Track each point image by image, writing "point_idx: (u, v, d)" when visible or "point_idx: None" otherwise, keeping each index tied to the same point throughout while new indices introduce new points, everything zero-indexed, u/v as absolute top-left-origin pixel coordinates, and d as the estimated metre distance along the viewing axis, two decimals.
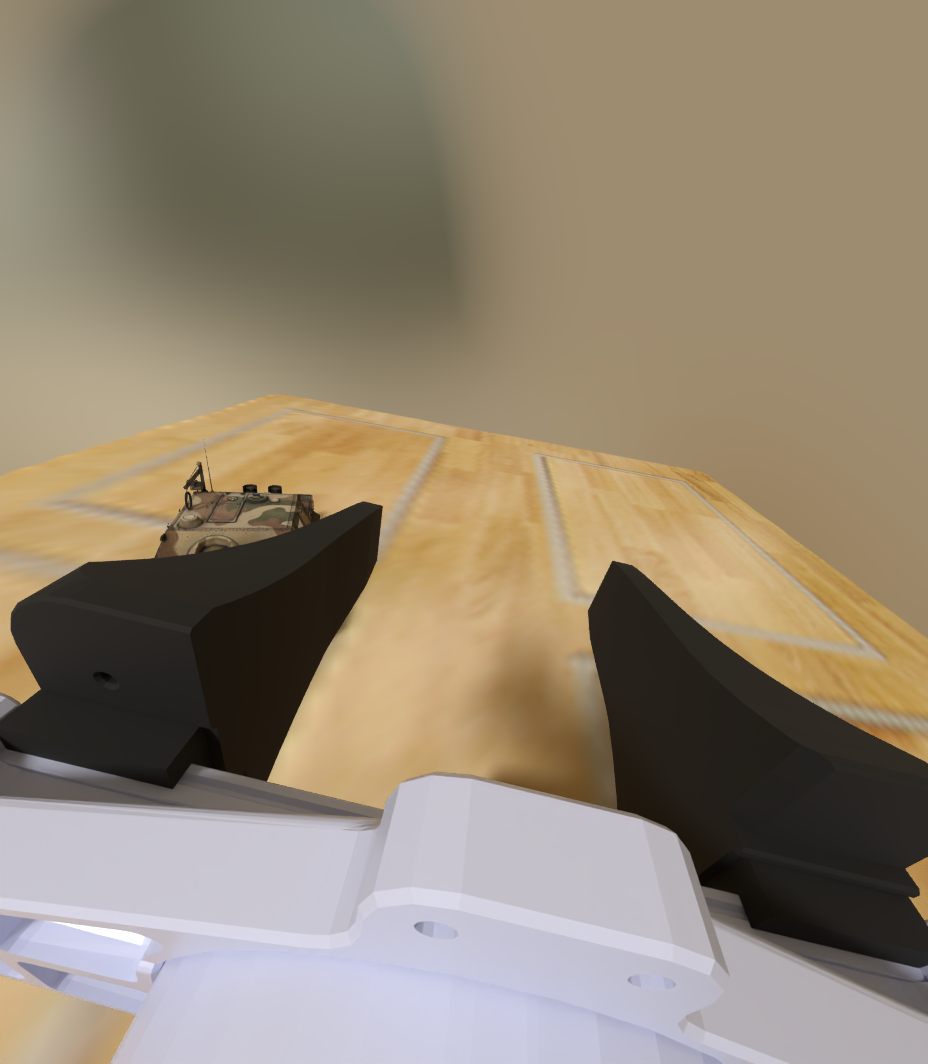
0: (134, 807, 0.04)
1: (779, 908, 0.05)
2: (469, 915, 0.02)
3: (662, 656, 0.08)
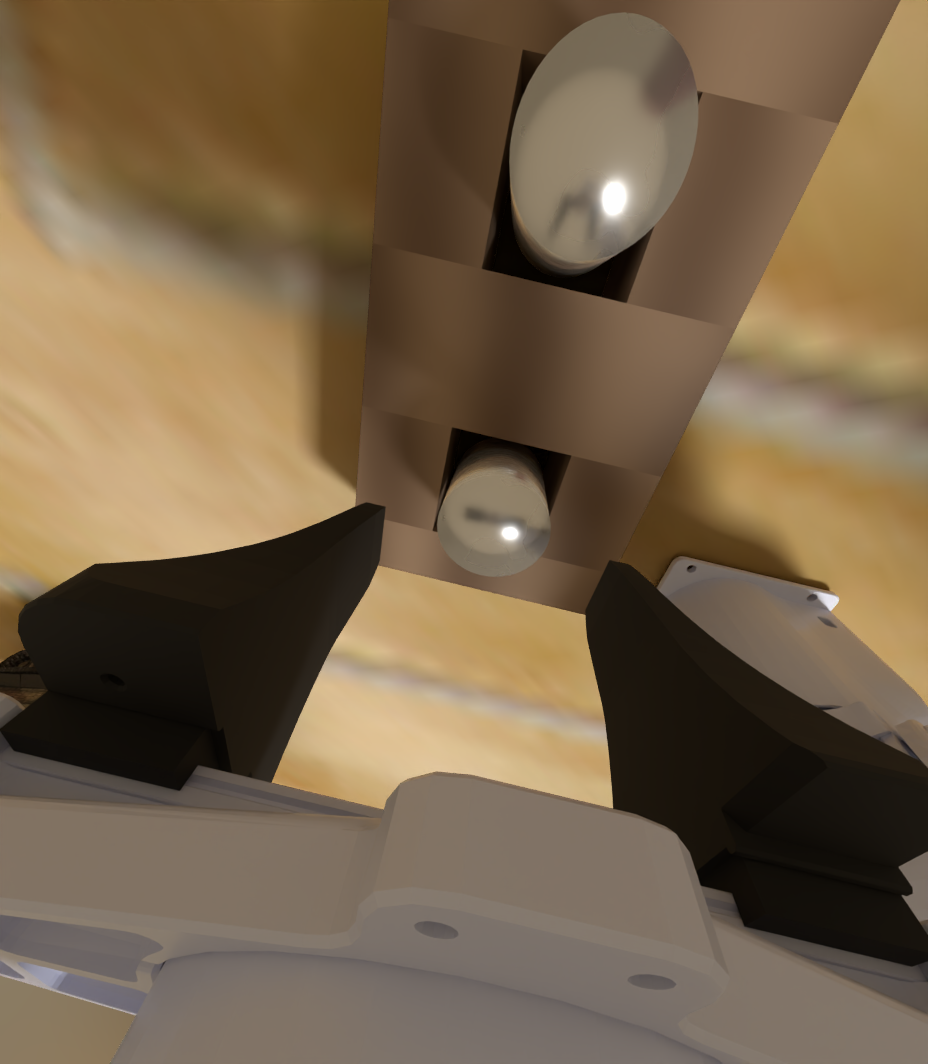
0: (134, 807, 0.04)
1: (773, 907, 0.05)
2: (469, 915, 0.02)
3: (658, 655, 0.08)
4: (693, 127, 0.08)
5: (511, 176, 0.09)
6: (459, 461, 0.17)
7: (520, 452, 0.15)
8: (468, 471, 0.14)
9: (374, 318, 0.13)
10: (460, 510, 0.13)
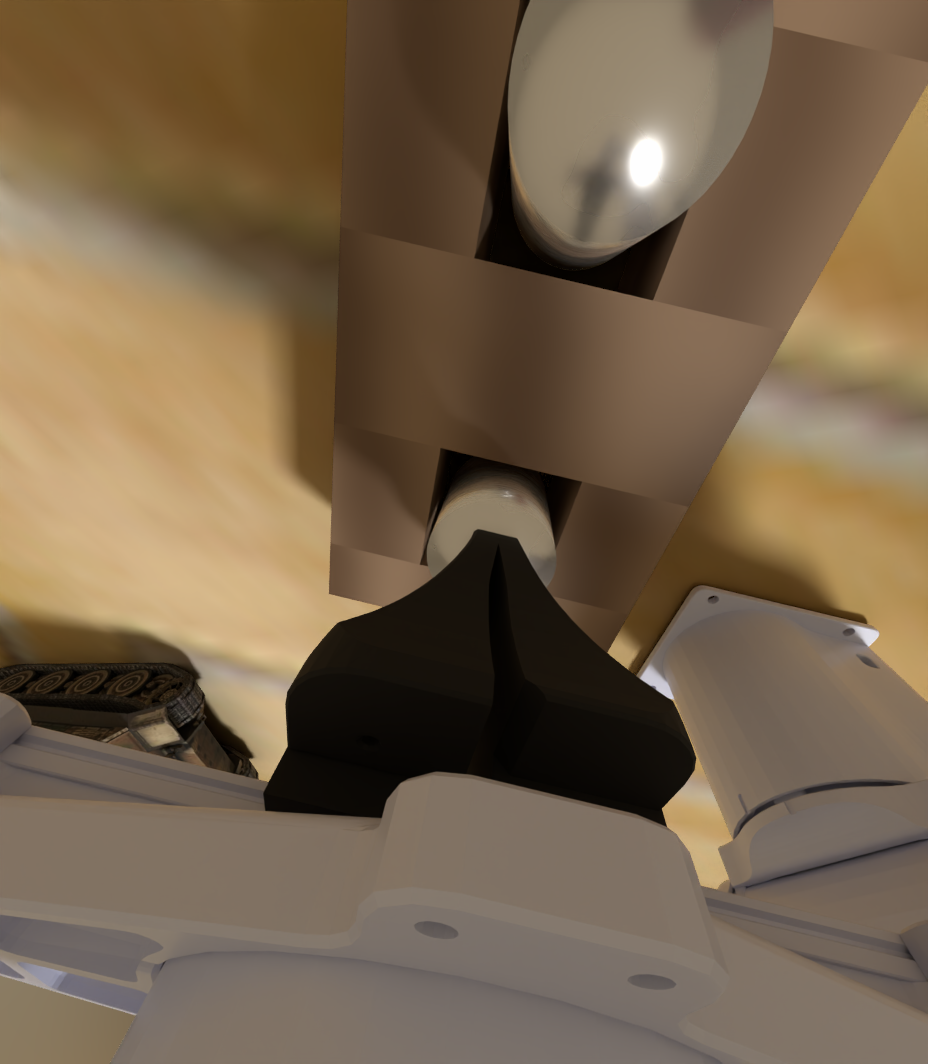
0: (134, 807, 0.04)
1: None
2: (469, 915, 0.02)
3: (500, 618, 0.08)
4: (763, 53, 0.06)
5: (510, 127, 0.07)
6: None
7: (521, 469, 0.14)
8: (462, 493, 0.12)
9: (345, 319, 0.11)
10: (453, 539, 0.12)
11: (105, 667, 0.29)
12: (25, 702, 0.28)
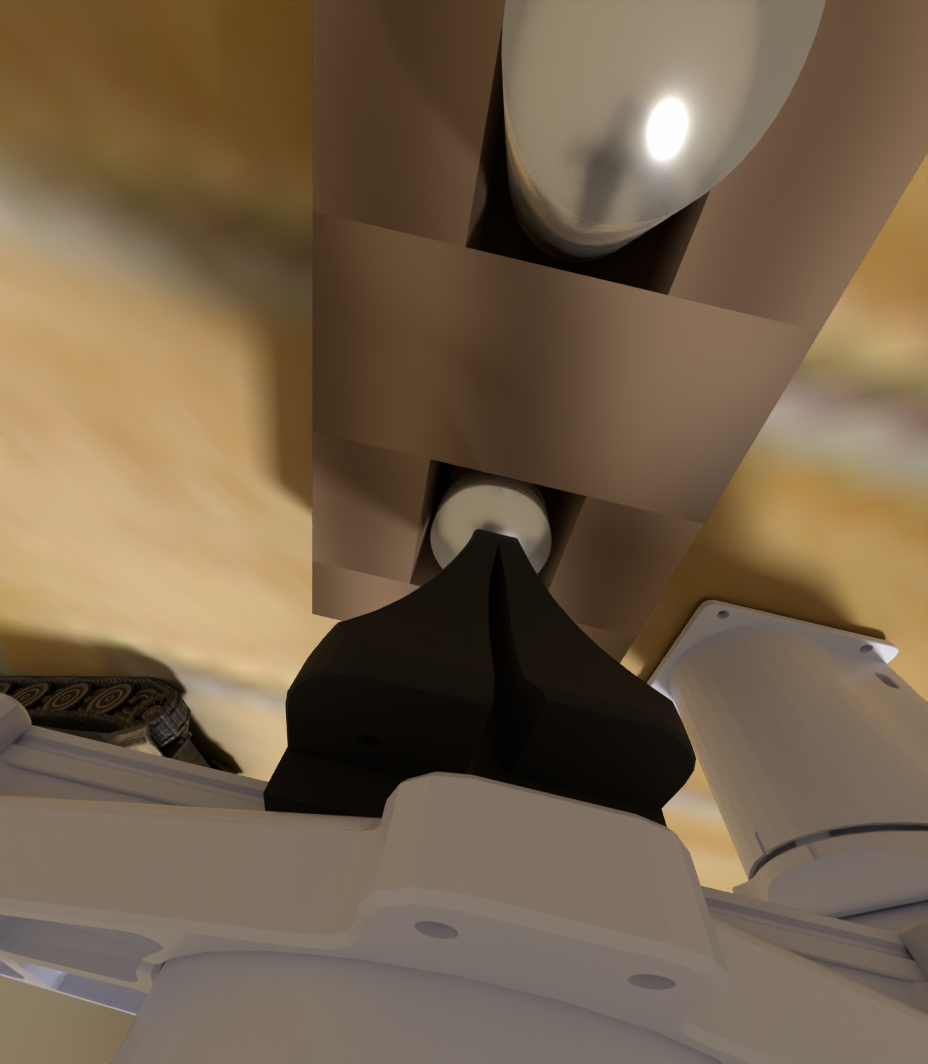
0: (134, 807, 0.04)
1: None
2: (469, 915, 0.02)
3: (500, 617, 0.08)
4: None
5: (505, 81, 0.05)
6: None
7: None
8: (463, 479, 0.13)
9: (321, 317, 0.10)
10: (455, 522, 0.12)
11: (86, 680, 0.28)
12: None
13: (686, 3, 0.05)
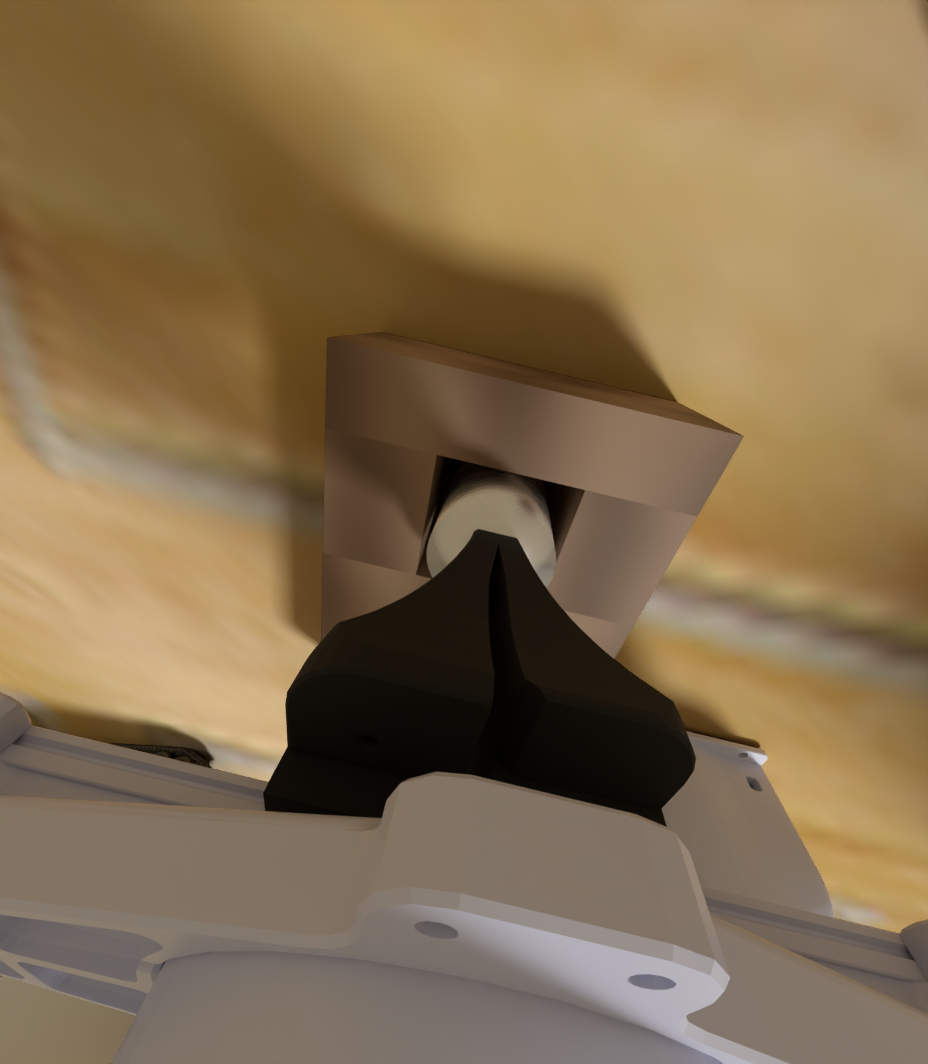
0: (134, 807, 0.04)
1: None
2: (470, 915, 0.02)
3: (500, 617, 0.08)
4: (553, 557, 0.11)
5: (429, 567, 0.12)
6: None
7: None
8: None
9: (327, 596, 0.15)
10: None
11: (129, 747, 0.34)
12: None
13: None
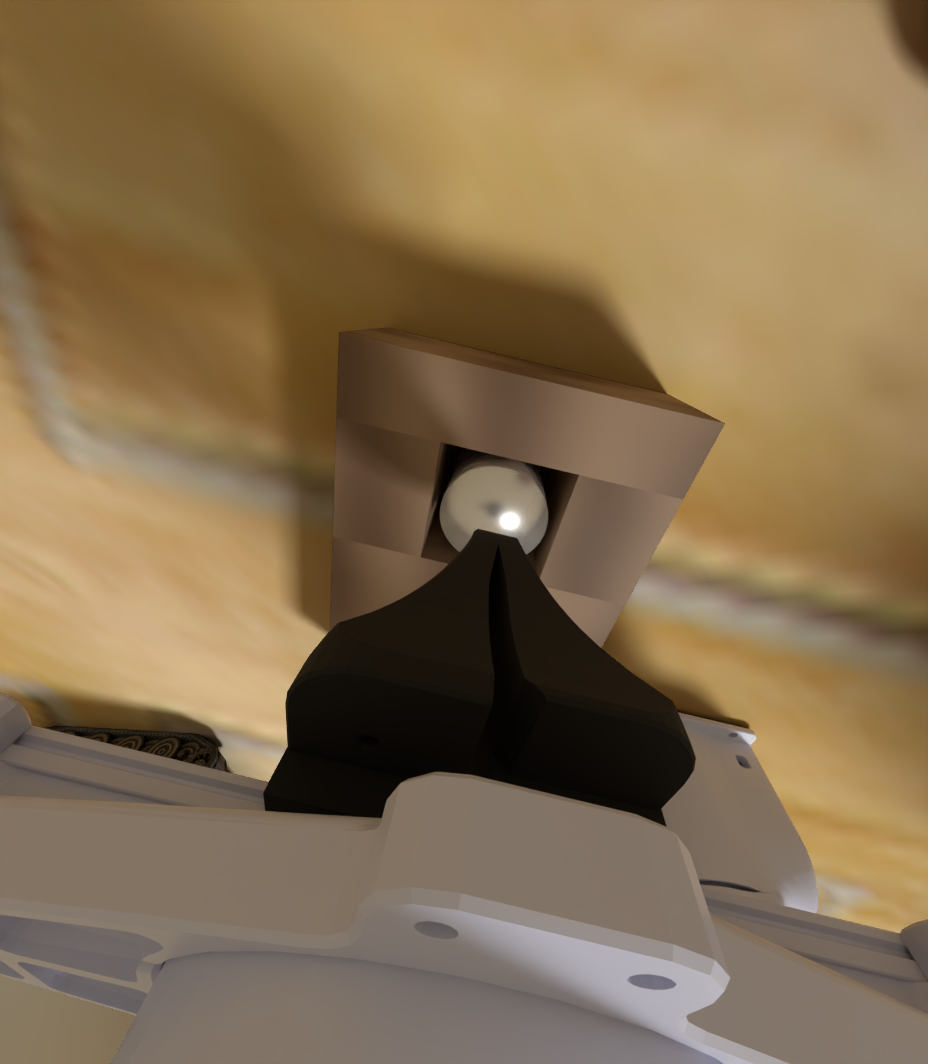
0: (134, 807, 0.04)
1: None
2: (469, 916, 0.02)
3: (500, 618, 0.08)
4: (545, 514, 0.14)
5: (441, 524, 0.15)
6: None
7: None
8: None
9: (336, 578, 0.16)
10: None
11: (139, 733, 0.34)
12: None
13: (502, 512, 0.14)
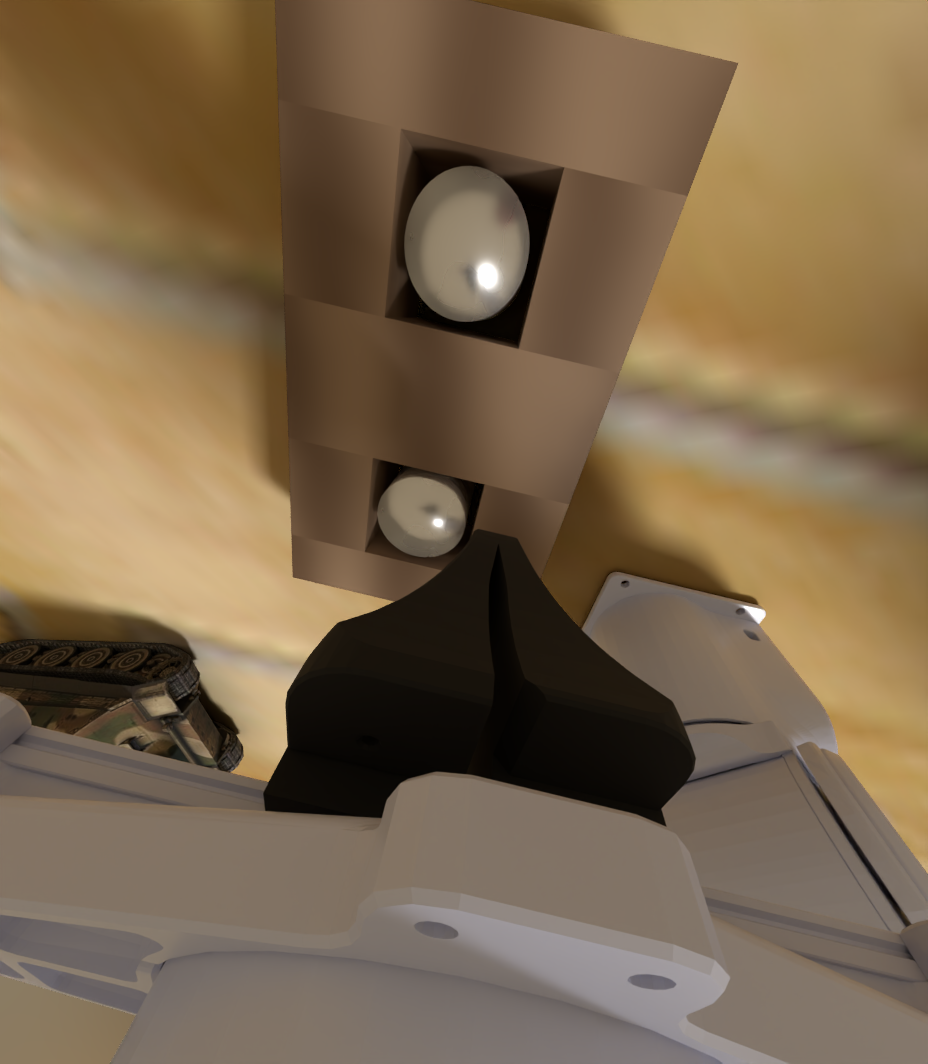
0: (134, 807, 0.04)
1: None
2: (469, 915, 0.02)
3: (500, 618, 0.08)
4: (526, 237, 0.12)
5: (407, 265, 0.13)
6: None
7: None
8: (402, 473, 0.17)
9: (292, 359, 0.14)
10: (394, 504, 0.17)
11: (107, 645, 0.32)
12: (33, 673, 0.30)
13: (477, 240, 0.12)
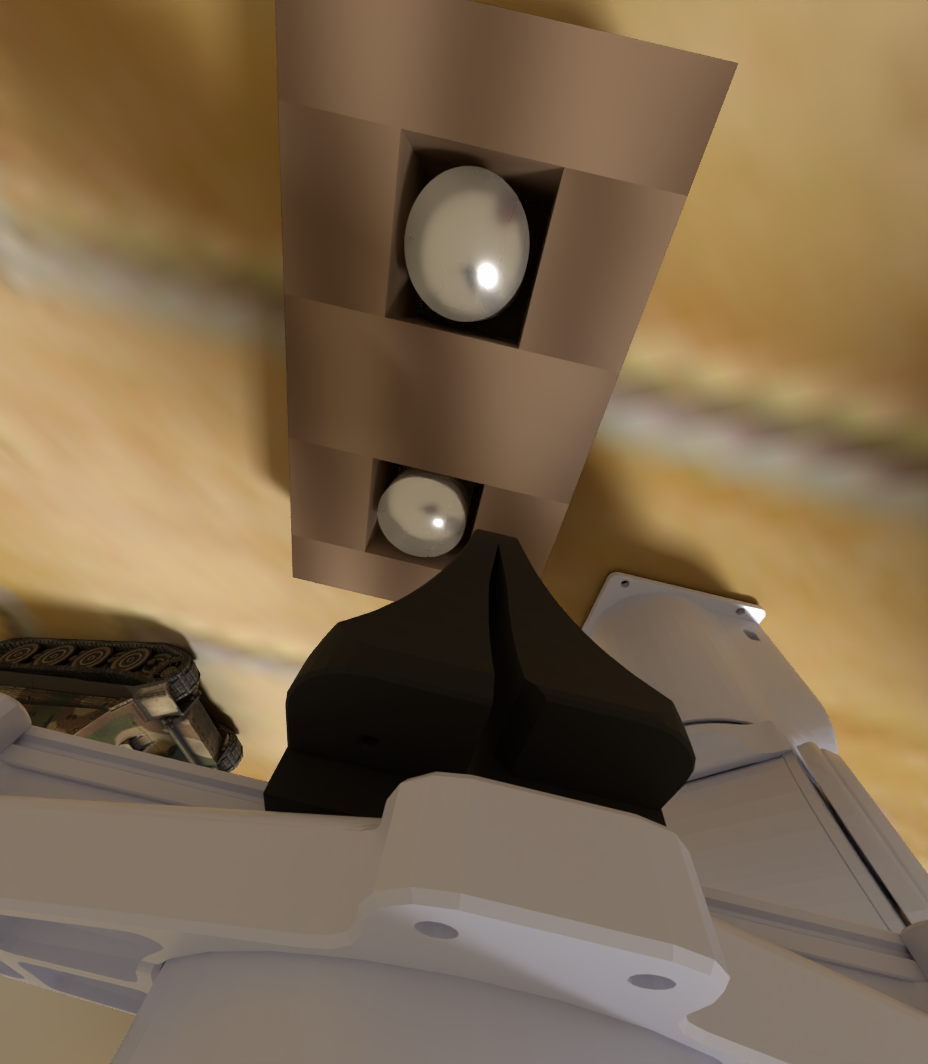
0: (134, 807, 0.04)
1: None
2: (469, 915, 0.02)
3: (500, 618, 0.08)
4: (526, 237, 0.12)
5: (407, 265, 0.13)
6: None
7: None
8: (402, 473, 0.17)
9: (292, 359, 0.14)
10: (394, 504, 0.17)
11: (108, 644, 0.32)
12: (33, 672, 0.30)
13: (477, 240, 0.12)
